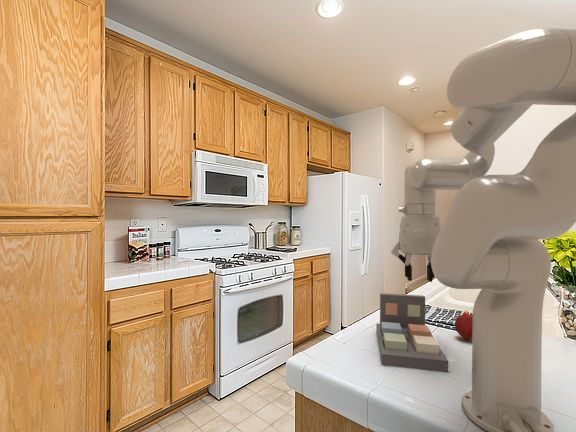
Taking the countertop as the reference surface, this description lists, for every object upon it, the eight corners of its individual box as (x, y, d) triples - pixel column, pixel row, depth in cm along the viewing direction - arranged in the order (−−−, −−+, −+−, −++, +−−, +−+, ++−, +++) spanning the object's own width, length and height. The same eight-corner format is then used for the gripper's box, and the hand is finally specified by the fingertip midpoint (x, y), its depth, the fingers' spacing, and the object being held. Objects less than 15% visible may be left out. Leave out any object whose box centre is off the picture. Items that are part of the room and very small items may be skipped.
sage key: (406, 352, 71) (406, 342, 71) (385, 350, 72) (385, 340, 72) (403, 344, 75) (403, 334, 75) (383, 342, 77) (383, 332, 77)
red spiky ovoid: (483, 344, 80) (484, 314, 80) (462, 344, 80) (462, 314, 80) (471, 335, 86) (471, 307, 86) (450, 335, 86) (450, 307, 86)
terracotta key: (430, 341, 77) (431, 332, 77) (410, 340, 78) (410, 330, 78) (426, 334, 82) (426, 325, 82) (407, 332, 83) (407, 323, 83)
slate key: (401, 339, 79) (401, 329, 79) (382, 337, 80) (382, 328, 80) (399, 332, 83) (399, 323, 83) (381, 330, 84) (381, 321, 84)
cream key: (439, 356, 69) (439, 345, 69) (416, 353, 70) (416, 343, 70) (434, 347, 74) (434, 337, 74) (413, 345, 75) (413, 335, 75)
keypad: (448, 372, 66) (448, 319, 66) (381, 364, 69) (381, 314, 69) (427, 336, 85) (427, 295, 85) (376, 331, 89) (376, 292, 89)
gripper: (387, 211, 78) (387, 281, 78) (459, 211, 74) (459, 285, 74) (385, 211, 85) (384, 276, 85) (450, 211, 81) (449, 279, 82)
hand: (419, 279), depth 80 cm, fingers open, 4 cm apart
